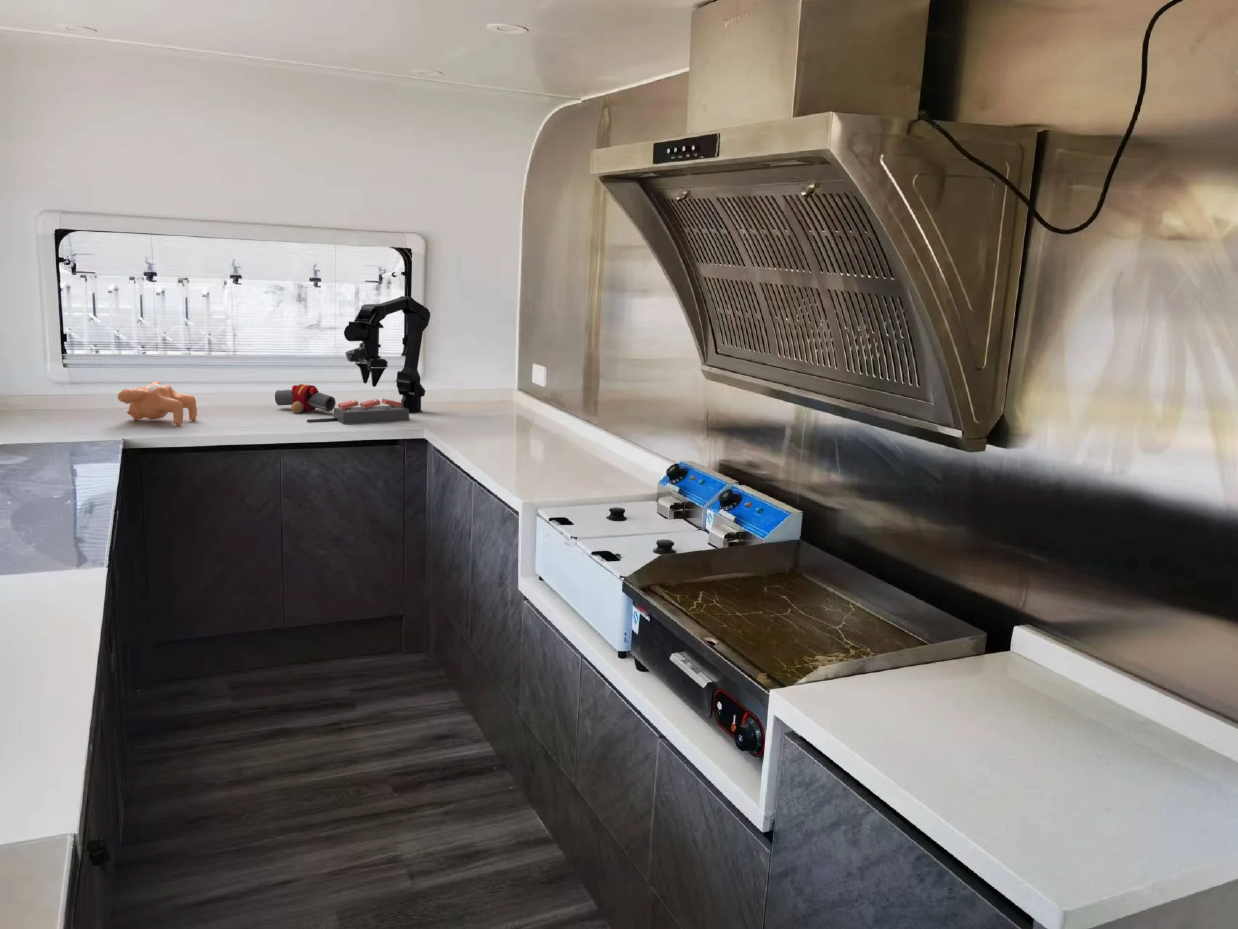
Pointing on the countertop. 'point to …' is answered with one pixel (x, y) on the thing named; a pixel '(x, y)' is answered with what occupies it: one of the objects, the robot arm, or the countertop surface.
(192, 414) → the figurine
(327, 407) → the toy
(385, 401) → the red rectangular block
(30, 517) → the countertop surface
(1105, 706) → the countertop surface
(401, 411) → the power strip
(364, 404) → the plate
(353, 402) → the rocker
